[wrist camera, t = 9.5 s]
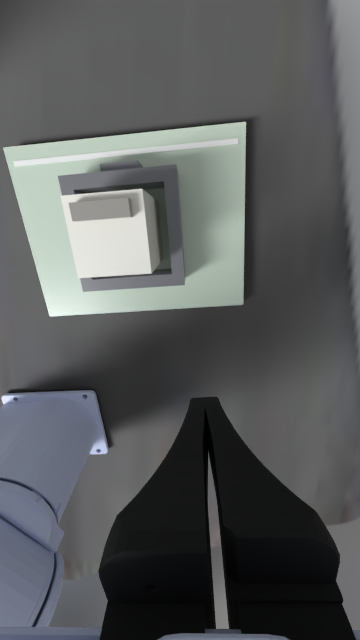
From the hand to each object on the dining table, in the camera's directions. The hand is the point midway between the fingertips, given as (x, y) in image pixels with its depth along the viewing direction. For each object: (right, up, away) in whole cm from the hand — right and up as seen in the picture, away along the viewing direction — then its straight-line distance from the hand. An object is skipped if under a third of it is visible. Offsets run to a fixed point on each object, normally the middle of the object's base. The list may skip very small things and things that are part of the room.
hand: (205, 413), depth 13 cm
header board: (-5, +11, +6) cm, 14 cm away
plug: (-5, +11, +6) cm, 13 cm away
